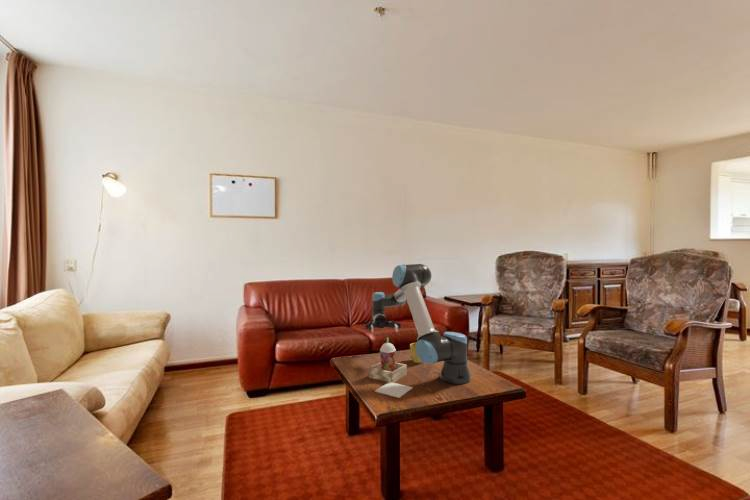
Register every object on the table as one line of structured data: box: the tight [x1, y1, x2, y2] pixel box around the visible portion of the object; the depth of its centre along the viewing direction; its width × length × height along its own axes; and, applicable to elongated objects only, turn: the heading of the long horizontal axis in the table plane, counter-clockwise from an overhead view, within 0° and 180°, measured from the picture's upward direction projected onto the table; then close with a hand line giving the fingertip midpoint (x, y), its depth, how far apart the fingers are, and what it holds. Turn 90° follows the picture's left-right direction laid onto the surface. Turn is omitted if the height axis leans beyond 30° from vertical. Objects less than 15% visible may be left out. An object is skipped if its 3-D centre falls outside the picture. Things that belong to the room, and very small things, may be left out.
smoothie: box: [379, 337, 397, 372], centre depth 193 cm, size 8×8×20 cm
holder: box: [368, 361, 408, 383], centre depth 193 cm, size 14×14×5 cm
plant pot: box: [409, 342, 424, 364], centre depth 216 cm, size 10×10×10 cm
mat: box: [374, 382, 414, 399], centre depth 175 cm, size 13×13×1 cm
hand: (385, 329), depth 203 cm, fingers open, 13 cm apart
